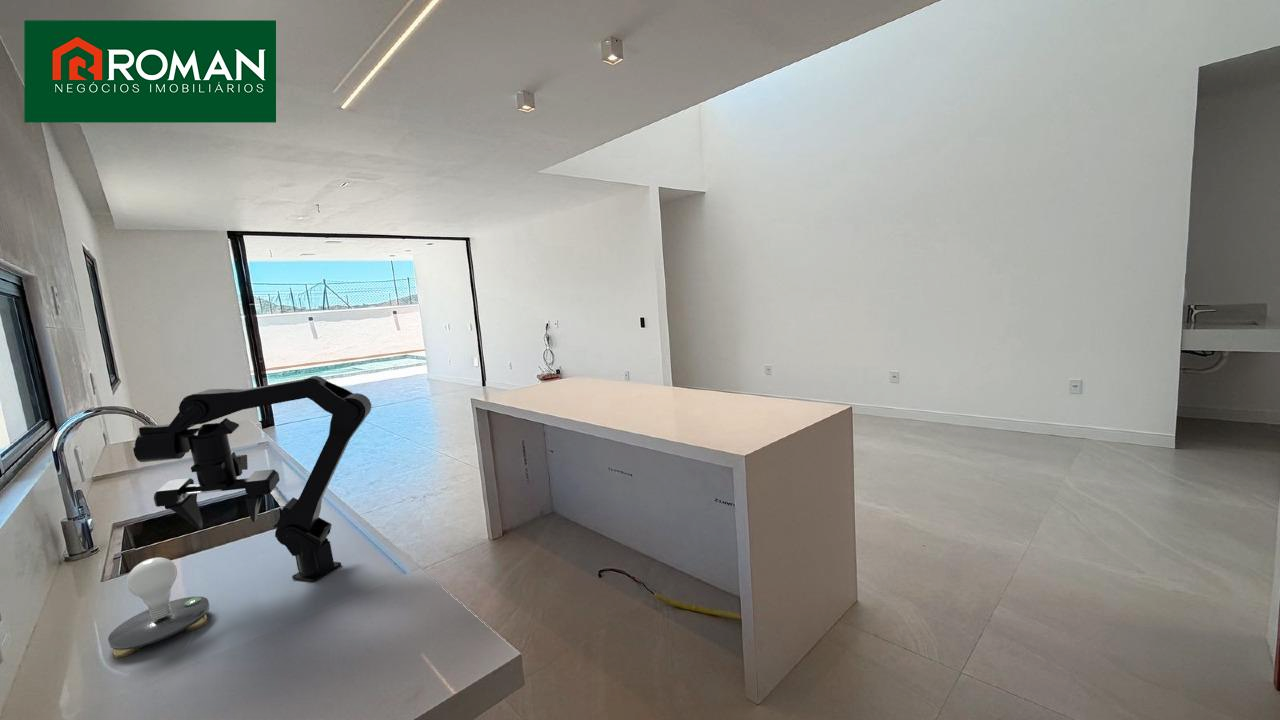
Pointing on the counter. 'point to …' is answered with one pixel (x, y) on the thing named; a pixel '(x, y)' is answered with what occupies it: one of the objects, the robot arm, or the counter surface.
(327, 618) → the counter surface
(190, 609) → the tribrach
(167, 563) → the lightbulb
